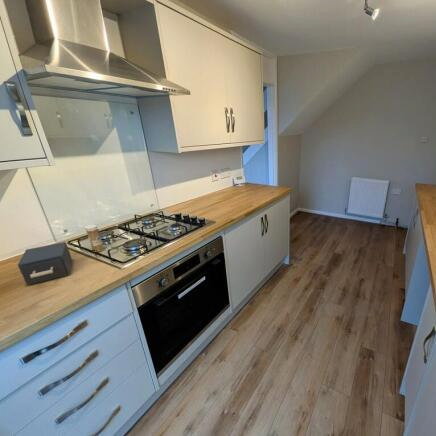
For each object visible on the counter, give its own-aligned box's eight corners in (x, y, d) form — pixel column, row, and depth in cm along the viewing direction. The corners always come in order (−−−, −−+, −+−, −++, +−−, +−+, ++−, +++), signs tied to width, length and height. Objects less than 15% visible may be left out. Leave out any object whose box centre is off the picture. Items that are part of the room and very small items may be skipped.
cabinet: (69, 274, 100) (62, 255, 97) (27, 285, 93) (17, 264, 90) (72, 260, 111) (65, 241, 108) (34, 268, 104) (26, 249, 101)
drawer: (65, 279, 96) (59, 263, 93) (25, 290, 89) (17, 272, 86) (69, 260, 109) (64, 245, 106) (34, 268, 102) (27, 253, 100)
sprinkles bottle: (100, 252, 118) (92, 227, 114) (90, 252, 118) (82, 228, 113) (105, 248, 123) (98, 224, 118) (96, 248, 122) (88, 224, 117)
